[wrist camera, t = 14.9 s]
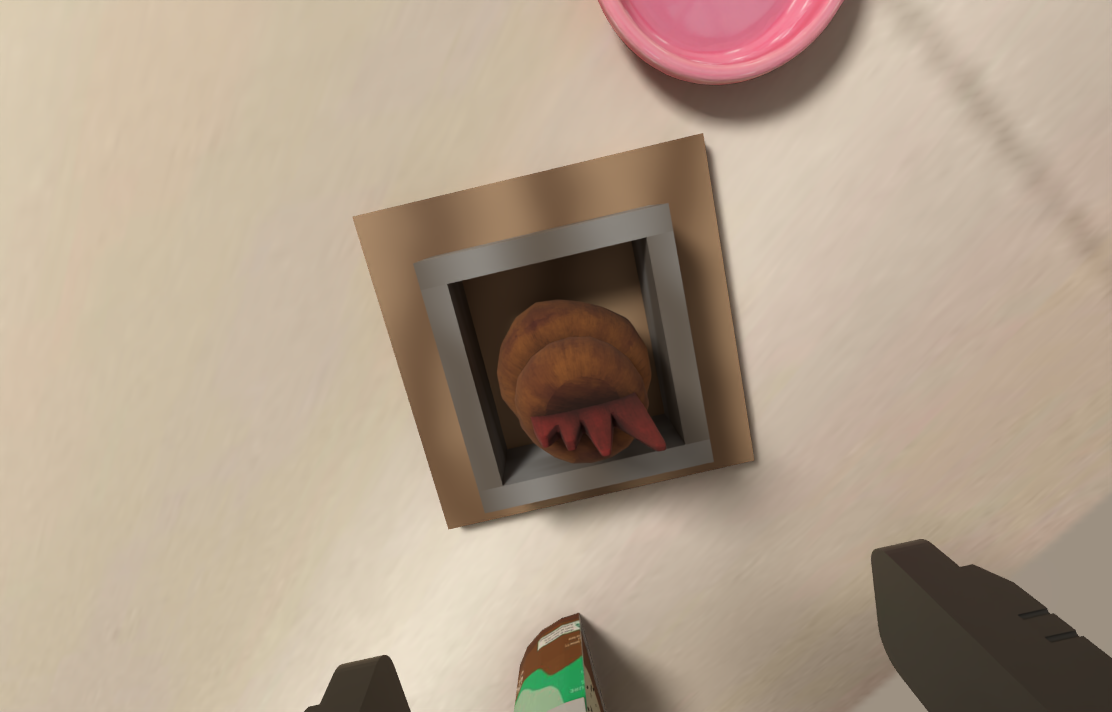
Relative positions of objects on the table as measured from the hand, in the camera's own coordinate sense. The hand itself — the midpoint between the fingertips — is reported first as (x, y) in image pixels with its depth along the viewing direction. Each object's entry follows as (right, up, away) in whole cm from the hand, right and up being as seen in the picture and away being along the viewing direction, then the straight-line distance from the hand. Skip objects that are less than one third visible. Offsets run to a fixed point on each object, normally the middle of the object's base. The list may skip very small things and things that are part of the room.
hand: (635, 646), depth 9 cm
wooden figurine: (-1, +5, +21) cm, 22 cm away
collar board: (-1, +6, +22) cm, 23 cm away
